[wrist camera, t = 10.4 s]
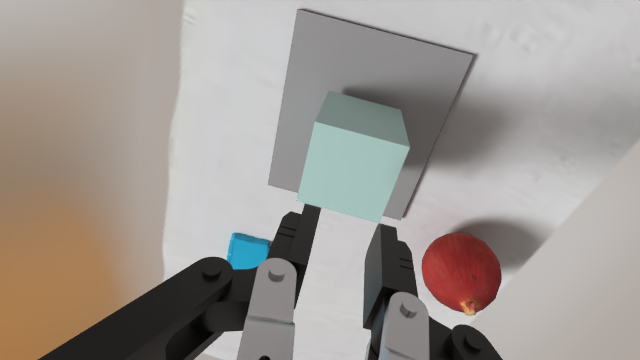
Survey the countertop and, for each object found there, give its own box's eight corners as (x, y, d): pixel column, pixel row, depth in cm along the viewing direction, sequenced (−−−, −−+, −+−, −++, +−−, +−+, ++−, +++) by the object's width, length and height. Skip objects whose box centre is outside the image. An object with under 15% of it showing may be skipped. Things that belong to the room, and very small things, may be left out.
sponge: (288, 251, 32) (229, 237, 31) (264, 325, 38) (213, 315, 37) (290, 240, 33) (233, 227, 33) (266, 313, 39) (217, 303, 39)
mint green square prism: (328, 90, 23) (314, 121, 17) (400, 109, 23) (409, 147, 17) (313, 155, 26) (296, 200, 20) (377, 172, 26) (379, 223, 20)
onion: (500, 234, 29) (541, 311, 22) (454, 274, 31) (478, 353, 24) (445, 203, 28) (469, 271, 21) (404, 246, 31) (413, 319, 24)
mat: (298, 9, 22) (297, 9, 22) (471, 54, 22) (473, 55, 22) (269, 182, 29) (267, 184, 29) (400, 217, 29) (400, 220, 29)
